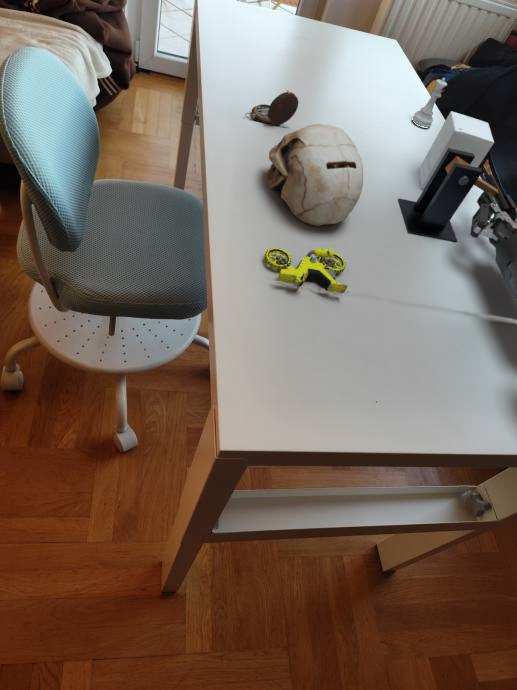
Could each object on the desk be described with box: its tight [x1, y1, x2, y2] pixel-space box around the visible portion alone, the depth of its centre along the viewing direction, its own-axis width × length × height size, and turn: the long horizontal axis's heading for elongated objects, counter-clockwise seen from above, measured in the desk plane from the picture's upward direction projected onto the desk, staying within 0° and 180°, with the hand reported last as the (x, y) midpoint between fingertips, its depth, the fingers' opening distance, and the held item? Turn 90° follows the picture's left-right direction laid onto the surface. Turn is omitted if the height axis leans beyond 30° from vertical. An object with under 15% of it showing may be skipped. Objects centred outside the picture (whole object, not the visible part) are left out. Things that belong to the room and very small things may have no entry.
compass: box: [244, 89, 299, 127], centre depth 90 cm, size 8×8×7 cm
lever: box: [445, 156, 510, 214], centre depth 77 cm, size 11×9×2 cm
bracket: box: [397, 148, 483, 244], centre depth 79 cm, size 9×9×13 cm
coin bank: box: [266, 123, 364, 227], centre depth 76 cm, size 16×17×13 cm
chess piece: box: [412, 77, 448, 127], centre depth 104 cm, size 4×4×10 cm
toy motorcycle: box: [263, 247, 349, 294], centre depth 67 cm, size 12×4×7 cm
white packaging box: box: [418, 110, 495, 191], centre depth 87 cm, size 7×7×13 cm
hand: (492, 197), depth 79 cm, fingers closed on lever, 3 cm apart
